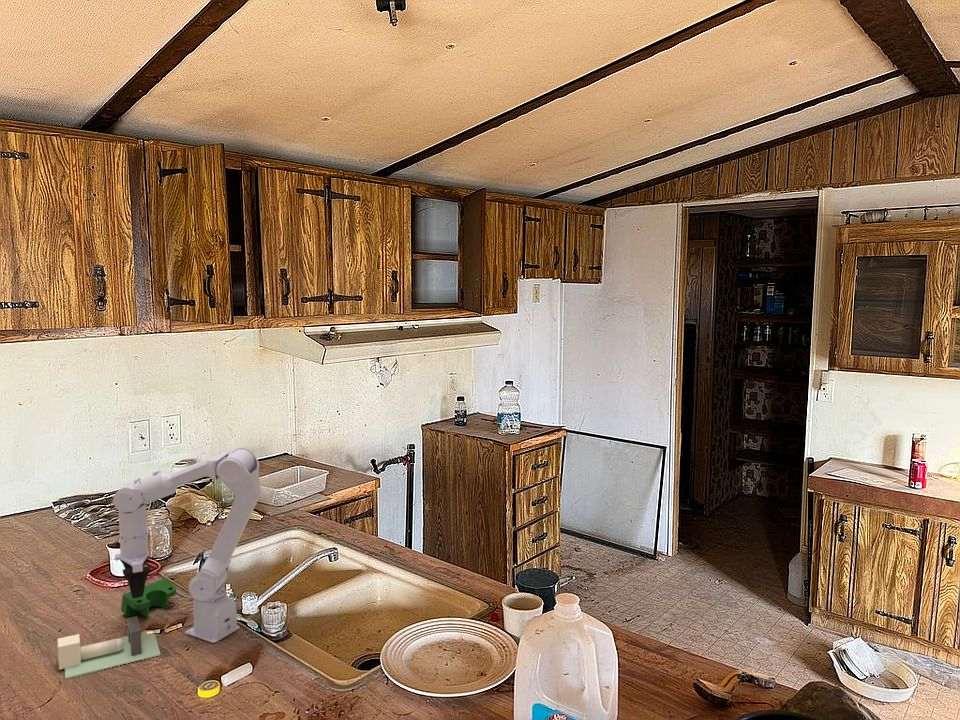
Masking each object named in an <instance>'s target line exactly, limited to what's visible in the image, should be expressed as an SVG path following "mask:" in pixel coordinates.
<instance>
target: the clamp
mask: <svg viewBox="0 0 960 720" xmlns="http://www.w3.org/2000/svg"><path fill="white" fill-rule="evenodd" d="M176 594H177V586H176V585H174V584H173V583H171V582H170V581H169V580H168V579H167V578H165V577H164V578H162V579H159V580H156V581H153V582H151V583H149V584H145V588H144V593H143V596H142V597H138V598H132V595H131V591H130V590H129V591H128V592H126V593H124V594H122V600H121V607H120V610H121V612H122V613H123V614H124V615H125V616H126V617H131V616H133V615H136V614H138V613H140V615H142V616H143V617H144V616H145V617H147V616H148V617H149V614H150V613H149V612H150V608H152V607H160V608H162V609H163V610H167V609H168V603H169V602H168V601H169V598H172V597H174V596H175V595H176ZM149 607H150V608H149ZM137 612H138V613H137ZM135 613H136V614H135ZM132 614H133V615H132ZM130 615H131V616H130ZM145 617H144V618H145ZM148 617H147V618H148Z"/></svg>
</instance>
